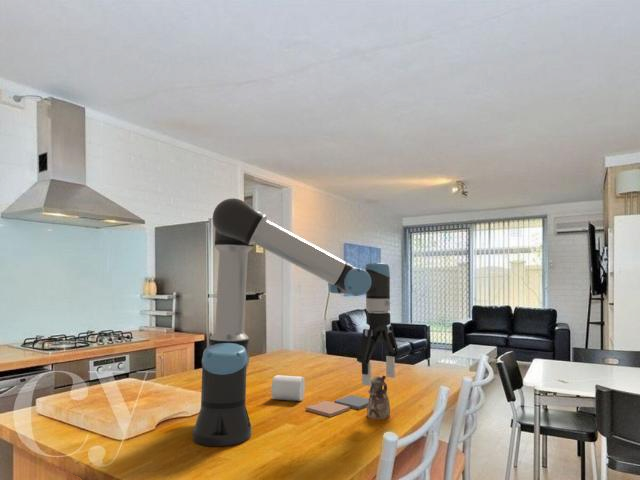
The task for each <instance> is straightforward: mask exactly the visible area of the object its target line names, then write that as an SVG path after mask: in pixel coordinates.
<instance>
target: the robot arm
mask: <svg viewBox="0 0 640 480" xmlns="http://www.w3.org/2000/svg"><path fill="white" fill-rule="evenodd" d="M212 225H213V226H214V246H213V247H214V248H216V250H218V253H219V254H218V267H217V268H218V269H217V270H218V271H217V287H216V288H217V291H216V307H215V310H216V311H215V325H214V326H215V327H214V330H215V331H214V332H213V333H212V334H211V335H210V336H209V339H208V340H209V341H208V343H209V344H208V346H207V347H206V348H205V349H204V350H203V353H202V358H201V367H202V368H201V369H202V370H201V371H202V372H201V395H200V396H201V397H200V399H201V400H200V410H199V411H198V415H197V417H196V422H195V425H194V426H193V431H192V440H193V441H194V442H195V443H197V444H198V445H203V446H207V447H227V446H234V445H239V444H240V443H244V442H245V441H248V440H249V439H250V438H251V436H252V424H251V422H250V416H249V413H248V411H247V406H246V396H247V394H246V393H247V391H246V390H247V372H248V367H249V363H250V361H249V359H250V357H249V344H250V343H249V342H250V338H249V336H248V335H247V334H246V333H245V317H246V300H247V299H246V298H247V277H248V276H247V275H248V274H247V273H248V257H249V255H248V253H249V252H251V250H253V248H254V245H257V246H258V247H260V248H262V249H264V250H266V251H268V252H270V253H272V254H274V255H275V256H278V257H280V259H282V260H284V261H287V262H289V263H291V264H293V265H294V266H297V268H298V267H299V268H300V269H302V270H304V271H305V272H308V273H309V274H312V275H314V276H316V277H318V278H320V279H321V280H324V281H325V282H327V285H328V291H329V293H331V294H338V295H340V294H347V295H351V296H353V297H358V296H362V295H364V294H365V310H366V314H365V317H366V319H365V320H366V321H365V322H366V325H368V326H369V329H368V328H367V329H366V328H363V329H362V338H361V342H360V345H359V348H358V353H357V357H356V361H357V362H358V363H361V377H362V379H361V381H362V383H361V384H362V385H363V386H367V387H368V386H369V387H371V380H372V363H371V362H370V361H371V359H372V357H373V354H374V351H375V349H376V346H378V345H379V344H380V343H381V345H382V346H383V348H384V350H385V352H386V354H387V356H386V355H385V360H386V361H385V364H386V366H385V367H386V368H385V370H386V373H385V374H386V375H385V376H386V378H391V379H392V378H394V379H395V378H396V371H395V370H396V368H395V367H396V366H395V365H396V364H395V363H396V362H395V361H396V360H395V357H398V356H399V352H400V351H399V350H400V349H399V347H398V344H397V340H396V337H395V333H394V326H393V325H391V313H390V311H391V300H390V298H391V296H390V295H391V292H390V291H391V275H390V273H391V272H390V266H389V264H388V263H387V262H368V263H366V264H365V268H361V267H356V266H354V265H352V264H350V263H349V262H347V261H345V260H343V259H341V258H340V257H338V256H336V255H334V254H332V253H330V252H328V251H326V250H325V249H323V248H321V247H319V246H317V245H315V244H314V243H311V242H310V241H308V240H306V239H304V238H302V237H300V236H298V235H297V234H294V233H293V232H291V231H289V230H288V229H285V228H283V227H281V226H280V225H278V224H276V223H274V222H272V221H270V220H268V218H267V215H266V214H265V213H263V212H261V211H259V210H258V209H257V208H254V207H253V206H251V205H250V204H248V203H247V202H246V201H244V200H242V199H239V198H227V199H226V198H225V199H224V200H223V201H220V203H218V204H217V205H216V206H215V208H214V210H213V213H212Z"/></svg>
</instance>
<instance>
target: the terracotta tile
mask: <svg viewBox="0 0 640 480" xmlns="http://www.w3.org/2000/svg"><path fill="white" fill-rule="evenodd" d="M305 410H306V411H307V412H311V413H314V414H318V415H321V416H324V417H329V418H331V417H334V416H338V415H340V414H342V413H345V412H348V411H350V410H351V408H350V407H349V406H345V405H341V404H337V403H334V401H333V402H332V401H328V400H324V401H320V402H318V403H315V404H312V405H308V406H306V407H305Z"/></svg>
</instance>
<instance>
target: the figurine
mask: <svg viewBox="0 0 640 480" xmlns="http://www.w3.org/2000/svg"><path fill="white" fill-rule="evenodd" d="M386 378H387V377H386V375H381V376H379V375H376V376H374V377H373V378H371V386H370V388H369V390H368V391H367V392H368V394H369V398H368V399H369V403H368V406H367V407H366V416H367V417H368V418H369V419H373V420H386V419H388V418H390V415H391V406H390V404H391V403H390V400H389V396H388V393H387V391H388V385H387V383H386V382H385V380H386Z"/></svg>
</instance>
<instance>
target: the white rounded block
mask: <svg viewBox="0 0 640 480" xmlns="http://www.w3.org/2000/svg"><path fill="white" fill-rule="evenodd" d="M305 389H306V381H305V378H304V376H297V375H296V376H295V375H294V376H293V375H278V374H277V375H274V377H273V378H272V382H271V389H270V391H271V398H272V399H273V400H280V401H281V400H282V401H293V402H301V401H303V400H304V396H305Z"/></svg>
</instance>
